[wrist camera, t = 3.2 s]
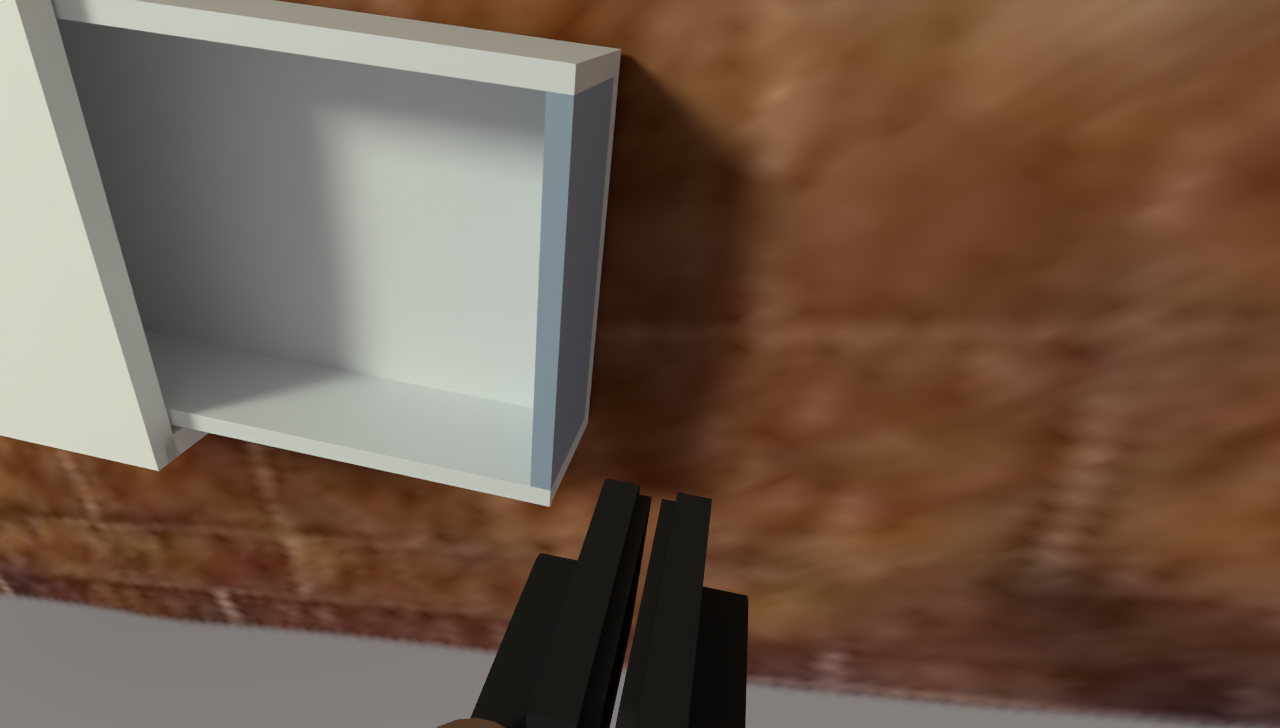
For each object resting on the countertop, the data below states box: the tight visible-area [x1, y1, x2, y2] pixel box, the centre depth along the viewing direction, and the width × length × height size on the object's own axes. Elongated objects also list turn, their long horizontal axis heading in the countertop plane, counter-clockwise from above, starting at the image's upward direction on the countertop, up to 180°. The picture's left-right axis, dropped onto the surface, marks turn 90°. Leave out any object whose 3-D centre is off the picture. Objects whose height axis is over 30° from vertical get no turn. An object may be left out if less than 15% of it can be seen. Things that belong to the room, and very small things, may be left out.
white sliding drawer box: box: [51, 0, 621, 507], centre depth 20 cm, size 24×12×4 cm, turn 83°
